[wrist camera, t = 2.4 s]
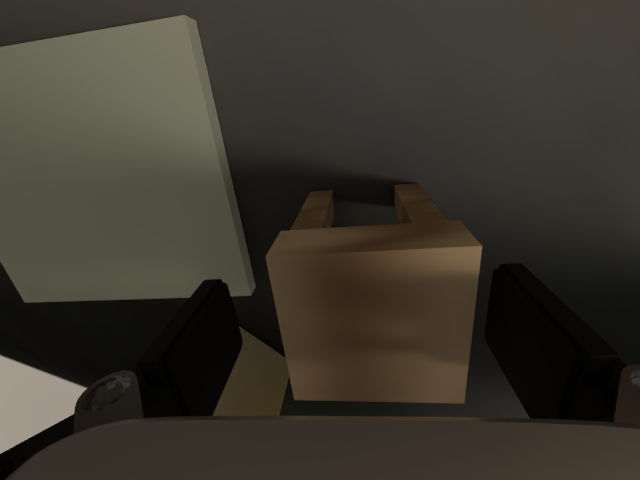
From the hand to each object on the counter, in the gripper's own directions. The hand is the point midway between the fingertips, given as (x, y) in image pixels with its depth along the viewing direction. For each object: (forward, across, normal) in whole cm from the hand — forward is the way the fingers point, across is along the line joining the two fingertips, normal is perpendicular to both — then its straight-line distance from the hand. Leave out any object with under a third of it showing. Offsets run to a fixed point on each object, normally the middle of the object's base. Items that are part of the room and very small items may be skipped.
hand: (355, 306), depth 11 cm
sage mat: (+7, +14, -4) cm, 16 cm away
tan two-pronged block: (+7, -1, 0) cm, 7 cm away
